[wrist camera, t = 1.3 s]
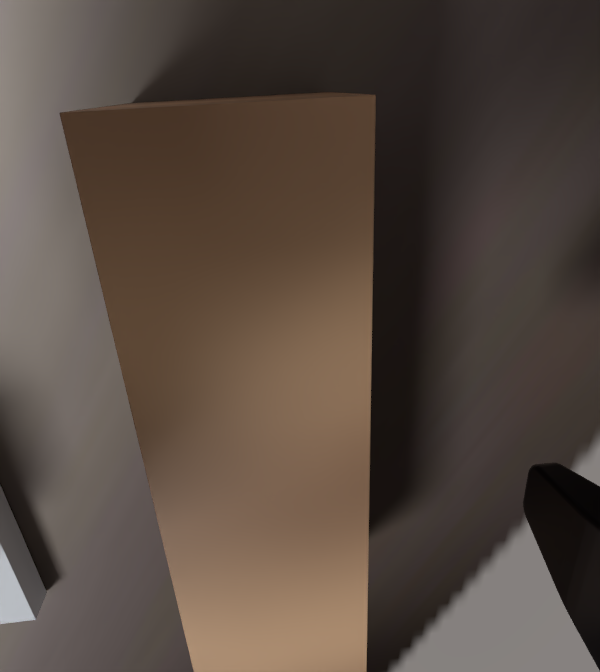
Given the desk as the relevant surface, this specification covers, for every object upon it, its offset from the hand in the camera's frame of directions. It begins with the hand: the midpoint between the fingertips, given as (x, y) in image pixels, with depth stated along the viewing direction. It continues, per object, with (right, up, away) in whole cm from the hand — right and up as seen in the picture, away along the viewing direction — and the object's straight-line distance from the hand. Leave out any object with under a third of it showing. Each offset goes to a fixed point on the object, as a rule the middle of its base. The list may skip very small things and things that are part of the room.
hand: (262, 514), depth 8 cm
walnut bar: (0, +2, +4) cm, 4 cm away
